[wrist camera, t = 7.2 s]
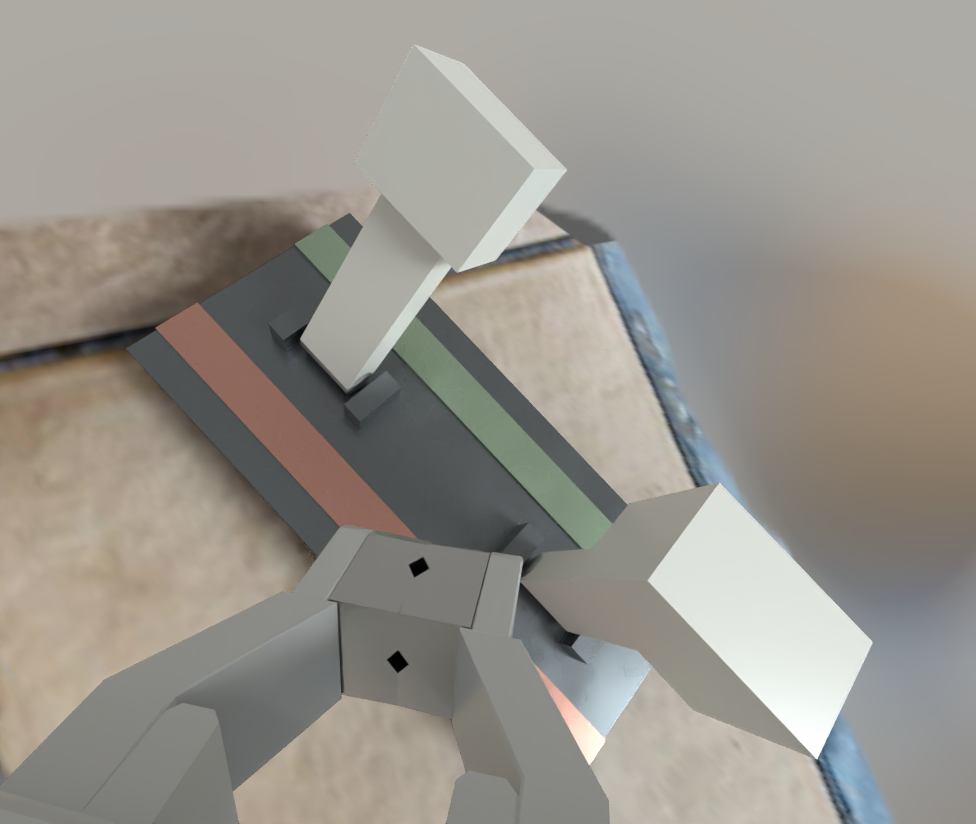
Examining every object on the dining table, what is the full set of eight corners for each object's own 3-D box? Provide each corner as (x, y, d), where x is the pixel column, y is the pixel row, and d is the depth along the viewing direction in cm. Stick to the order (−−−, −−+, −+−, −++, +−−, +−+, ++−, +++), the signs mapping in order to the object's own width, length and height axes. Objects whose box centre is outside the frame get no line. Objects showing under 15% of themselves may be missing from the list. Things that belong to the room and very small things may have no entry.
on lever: (345, 422, 22) (534, 168, 14) (266, 337, 22) (413, 43, 14) (387, 397, 24) (567, 170, 17) (315, 321, 24) (463, 62, 17)
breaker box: (522, 775, 24) (568, 828, 19) (157, 381, 25) (111, 334, 20) (659, 584, 29) (725, 587, 24) (348, 257, 30) (349, 194, 25)
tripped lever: (566, 659, 22) (817, 759, 10) (487, 574, 22) (647, 580, 11) (606, 605, 23) (873, 642, 12) (531, 526, 23) (719, 482, 12)
